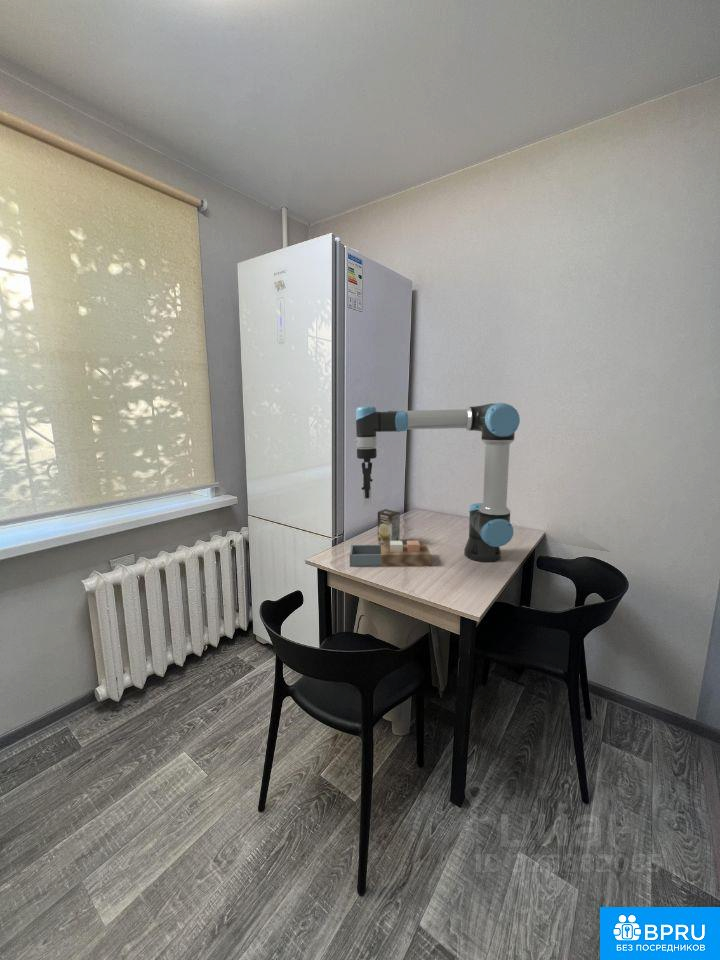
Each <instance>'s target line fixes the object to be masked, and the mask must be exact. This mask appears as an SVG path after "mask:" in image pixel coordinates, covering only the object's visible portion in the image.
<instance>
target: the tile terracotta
mask: <svg viewBox="0 0 720 960" xmlns="http://www.w3.org/2000/svg"><path fill="white" fill-rule="evenodd" d="M406 544H407V551H408V552H418V551H420V544H421V543H420V541H419V540H406Z"/></svg>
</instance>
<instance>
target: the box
mask: <svg viewBox="0 0 720 960" xmlns="http://www.w3.org/2000/svg"><path fill="white" fill-rule="evenodd" d="M350 566H351V567H352V568H353V567H354V568H361V567H364V568H365V567H368V568H369V567H372V568H373V567H374V568H375V567H381V545H380V544H351V545H350V551H349V567H350ZM351 567H350V568H351Z"/></svg>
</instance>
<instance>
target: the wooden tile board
mask: <svg viewBox="0 0 720 960" xmlns="http://www.w3.org/2000/svg"><path fill="white" fill-rule="evenodd" d="M402 544H403V543H402ZM419 544H420V551H418V552H408V551H407V543H406V544H405V543H404V544H403V552H391V550H390V545H381V567H431V559H432V557H431V553H430V549H429V547H428V544H425V543H423V544H422V543H419Z"/></svg>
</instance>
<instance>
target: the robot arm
mask: <svg viewBox="0 0 720 960" xmlns="http://www.w3.org/2000/svg"><path fill="white" fill-rule="evenodd" d="M520 418H521V417H520V414H519V412H518V410H517V409H516V408H515V407H514V406H513V405H511V404H508V403H505V402H497V403H496V402H495V403H487V404H481V405H475V406H467V407H466V408H462V409H461V408H460V409H428V410H426V409H425V410H424V409H423V410H422V409H421V410H420V409H419V410H388V411H377V408H376V407H375V406H358V407H357V408H356V410H355V426H356V427H355V428H356V430H355V431H356V438H355V439H354V442H356V448H357V449H356V458H357V459H358V460H363V462H361V469H362V470H361V471H362V475H363V477H362V478H363V479H362V480H363V482H362V483H363V484H362V485H363V487H361V491H362V490H363V491H362V493H363V507H372V482H373V478H372V476H371V475H372V469H373V462H371V460H372V459H377V456H378V455H377V454H378V453H377V448H376V447H377V433H381V432H382V433H384V432H388V433H389V432H398V433H399V432H407V430H435V429H436V430H437V429H438V430H439V429H440V430H441V429H443V430H444V429H466V431H476V432H481V442H483V443H484V445H485V446H484V447H485V448H484V450H485V452H484V468H483V469H484V470H483V471H484V472H483V474H484V475H483V495H482V497H483V499H482V501H483V502H479V503H478V502H476V503H471V505H469V506H470V507H469V511H468V512H469V521H468V522H469V524H468V525H469V526H468V539H467V542H466V545H465V546H464V552H463V553H464V554H463V555H464V556H465V557H466V558H468V559H469V560H473V561H476V562H481V563H484V562H486V563H492V562H497V561H499V560H500V559H501V557H502V551H501V547H503V546H505V545H507V544H508V543H510V541H511V540H512V538H513V536H514V527H513V525H512V523H511V510H510V509H509V508H508V506H507V502H508V500H507V499H508V487H509V486H508V484H509V483H508V482H509V481H508V480H509V463H510V446H511V444H512V443H513V442H514V441H515V433H516V431H517V430H518V428H519V426H520V422H521V419H520Z"/></svg>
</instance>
